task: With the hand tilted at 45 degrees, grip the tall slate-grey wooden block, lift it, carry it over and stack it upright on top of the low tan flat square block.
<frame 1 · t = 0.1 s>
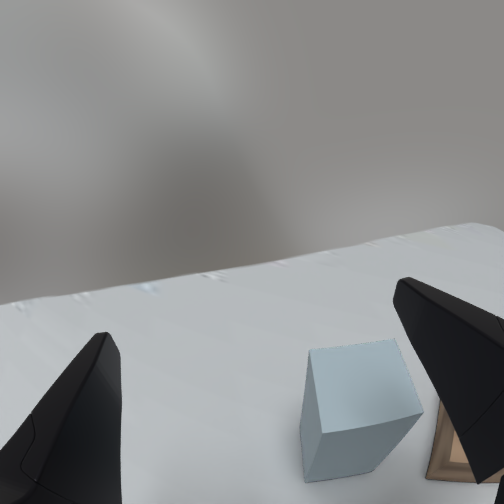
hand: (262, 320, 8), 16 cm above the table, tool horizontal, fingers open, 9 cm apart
tan flat square block: (478, 436, 15), on the table
slate block: (335, 449, 18), on the table
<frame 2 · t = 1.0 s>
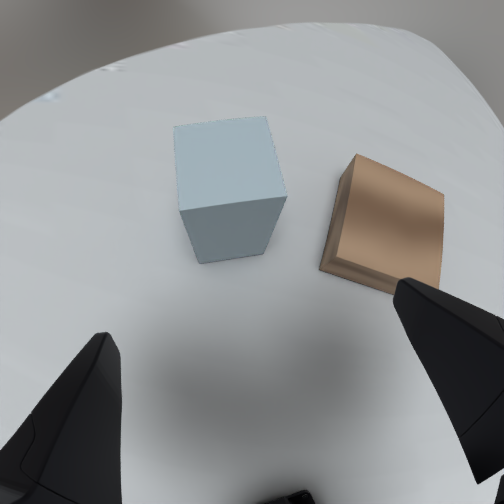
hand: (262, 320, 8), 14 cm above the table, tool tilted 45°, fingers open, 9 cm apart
tan flat square block: (377, 237, 24), on the table
slate block: (226, 228, 24), on the table
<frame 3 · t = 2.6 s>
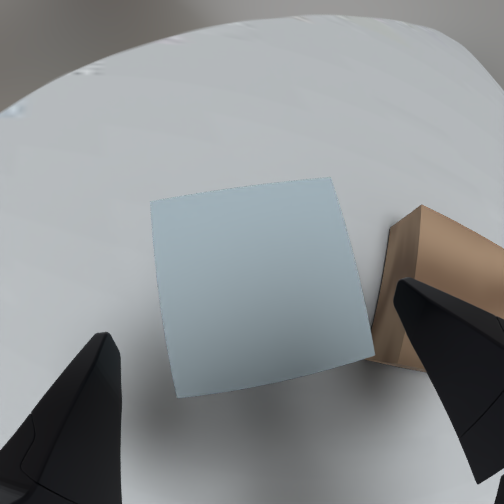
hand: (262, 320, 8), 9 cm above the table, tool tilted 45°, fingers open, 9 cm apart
tan flat square block: (431, 307, 18), on the table
slate block: (242, 310, 17), on the table
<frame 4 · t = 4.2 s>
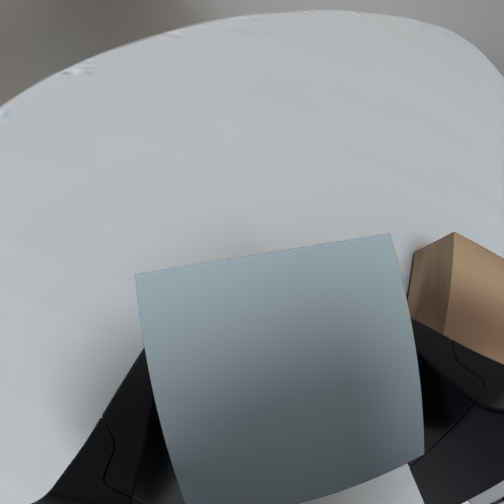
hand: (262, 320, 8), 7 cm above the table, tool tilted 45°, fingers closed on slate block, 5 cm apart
tan flat square block: (453, 337, 15), on the table
slate block: (252, 352, 14), on the table, touching gripper
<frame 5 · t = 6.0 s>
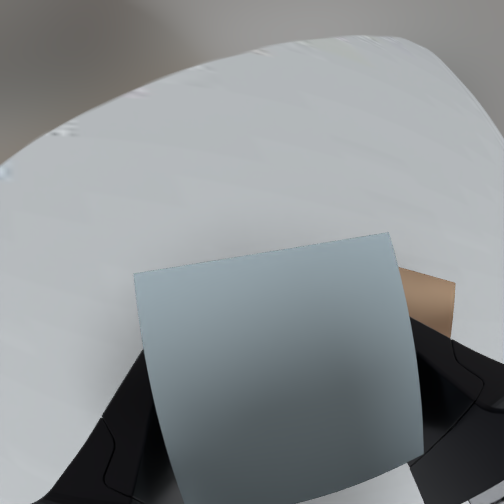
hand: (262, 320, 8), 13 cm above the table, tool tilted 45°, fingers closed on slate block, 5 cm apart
tan flat square block: (379, 334, 22), on the table
slate block: (252, 351, 14), point 7 cm above the table, touching gripper
when the fingers open (12 cm above the table, at t = 8.0 s): slate block drops 1 cm, resting on tan flat square block.
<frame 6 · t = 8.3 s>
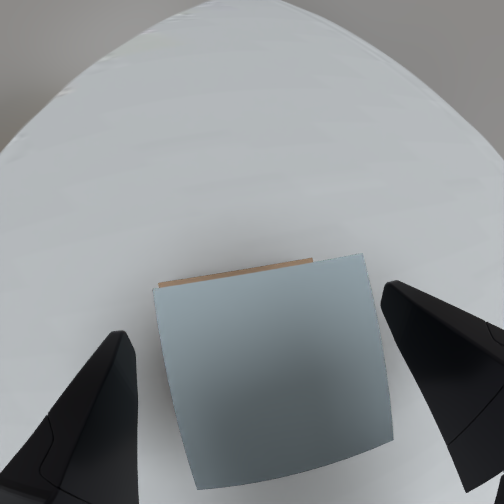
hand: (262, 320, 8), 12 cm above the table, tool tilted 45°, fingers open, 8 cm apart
tan flat square block: (246, 345, 20), on the table
slate block: (250, 349, 16), point 4 cm above the table, touching tan flat square block
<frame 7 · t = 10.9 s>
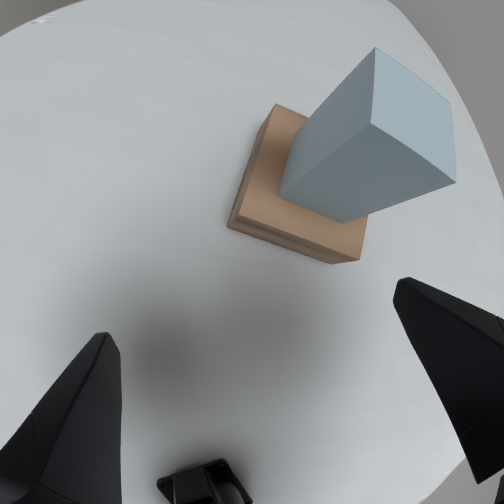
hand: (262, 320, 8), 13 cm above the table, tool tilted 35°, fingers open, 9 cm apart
tan flat square block: (296, 193, 24), on the table
slate block: (318, 177, 20), point 4 cm above the table, touching tan flat square block
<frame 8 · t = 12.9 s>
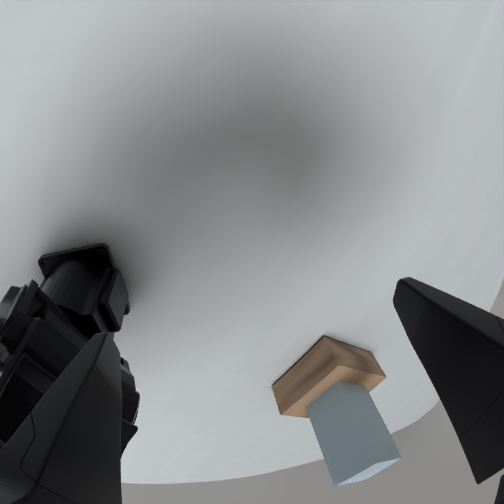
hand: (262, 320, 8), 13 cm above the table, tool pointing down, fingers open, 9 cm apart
tan flat square block: (324, 370, 32), on the table
slate block: (336, 396, 29), point 4 cm above the table, touching tan flat square block
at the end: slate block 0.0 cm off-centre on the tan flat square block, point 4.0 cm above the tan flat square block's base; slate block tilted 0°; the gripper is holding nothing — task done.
